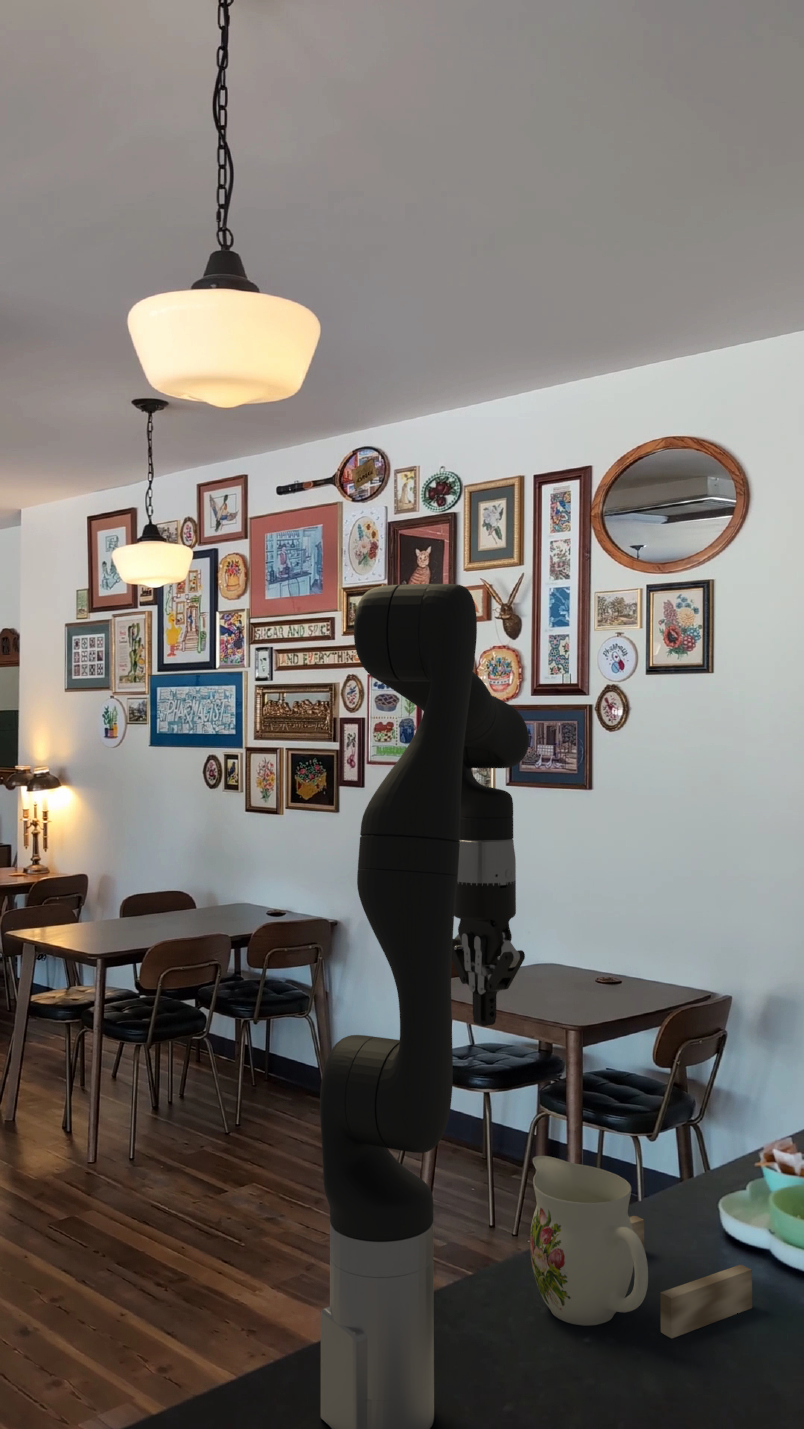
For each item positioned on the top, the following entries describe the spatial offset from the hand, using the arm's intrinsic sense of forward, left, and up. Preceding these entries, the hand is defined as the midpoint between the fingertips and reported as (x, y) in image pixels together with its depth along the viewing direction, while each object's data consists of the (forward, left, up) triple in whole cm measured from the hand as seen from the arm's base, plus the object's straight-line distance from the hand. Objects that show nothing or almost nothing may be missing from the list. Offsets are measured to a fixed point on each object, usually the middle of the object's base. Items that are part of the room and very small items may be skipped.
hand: (484, 1024), depth 138 cm
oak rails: (+10, -17, -27) cm, 33 cm away
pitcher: (0, -17, -27) cm, 32 cm away
